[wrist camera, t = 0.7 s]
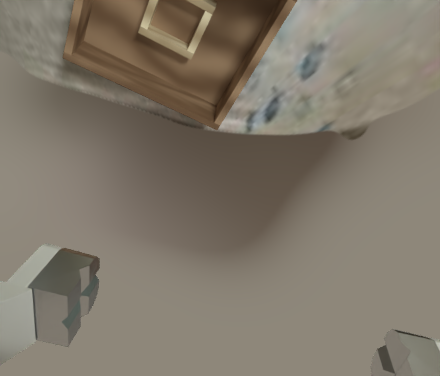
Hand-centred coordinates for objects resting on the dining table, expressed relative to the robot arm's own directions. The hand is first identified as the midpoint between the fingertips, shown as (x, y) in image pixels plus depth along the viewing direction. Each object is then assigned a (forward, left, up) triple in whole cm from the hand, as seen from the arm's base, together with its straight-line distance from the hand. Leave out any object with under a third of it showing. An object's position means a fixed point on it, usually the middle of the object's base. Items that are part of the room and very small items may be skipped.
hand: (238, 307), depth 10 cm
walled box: (+12, -5, -48) cm, 50 cm away
